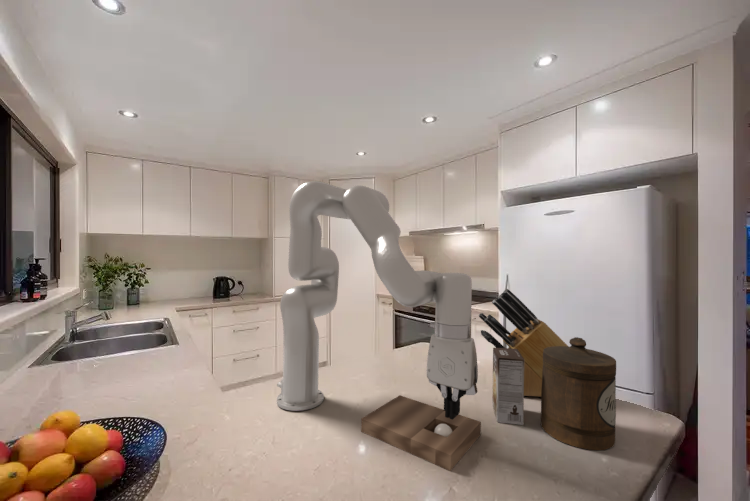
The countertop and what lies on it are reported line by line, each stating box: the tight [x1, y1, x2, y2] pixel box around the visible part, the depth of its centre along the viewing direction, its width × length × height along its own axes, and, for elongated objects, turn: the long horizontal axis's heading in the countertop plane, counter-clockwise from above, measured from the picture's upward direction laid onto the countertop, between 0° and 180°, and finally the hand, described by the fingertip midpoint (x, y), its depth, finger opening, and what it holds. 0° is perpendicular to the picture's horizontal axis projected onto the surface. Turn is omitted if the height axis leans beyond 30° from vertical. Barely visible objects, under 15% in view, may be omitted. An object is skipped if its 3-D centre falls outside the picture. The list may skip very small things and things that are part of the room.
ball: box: [434, 424, 452, 437], centre depth 72 cm, size 4×4×4 cm
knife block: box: [478, 288, 569, 397], centre depth 100 cm, size 11×35×31 cm, turn 83°
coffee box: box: [492, 347, 525, 426], centre depth 85 cm, size 9×6×16 cm
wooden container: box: [540, 336, 617, 451], centre depth 78 cm, size 15×15×22 cm
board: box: [360, 395, 482, 472], centre depth 76 cm, size 22×16×3 cm
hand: (451, 415), depth 71 cm, fingers closed
